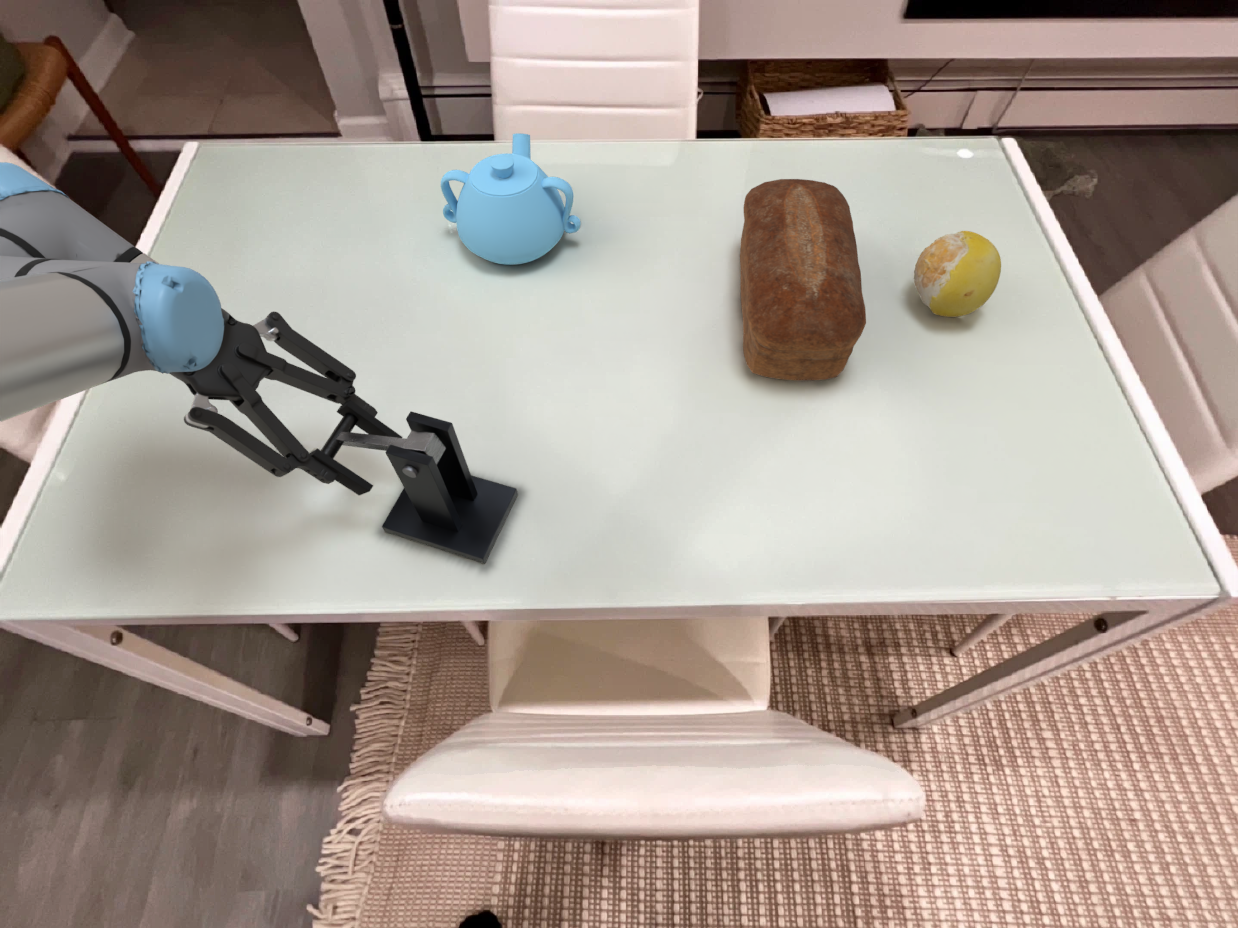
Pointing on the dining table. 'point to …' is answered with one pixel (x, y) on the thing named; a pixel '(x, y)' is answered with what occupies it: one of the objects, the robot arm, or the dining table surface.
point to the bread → (799, 281)
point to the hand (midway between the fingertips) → (380, 465)
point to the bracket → (446, 497)
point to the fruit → (957, 273)
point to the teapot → (509, 207)
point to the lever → (381, 440)
